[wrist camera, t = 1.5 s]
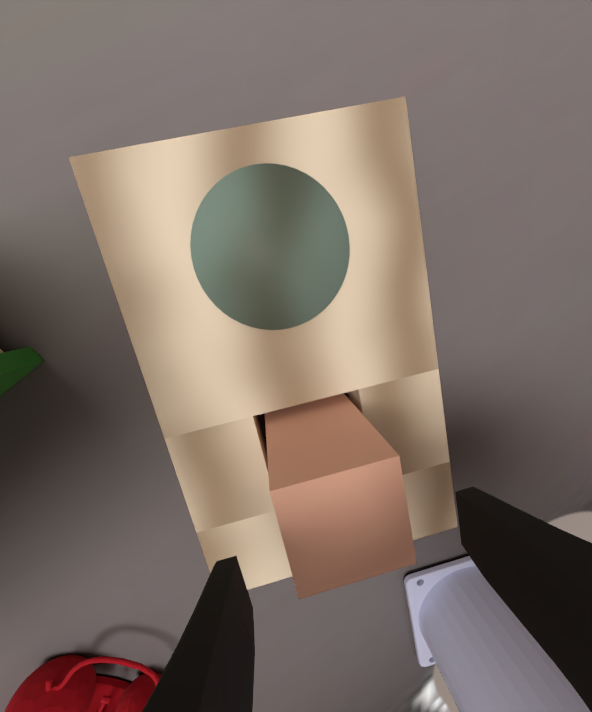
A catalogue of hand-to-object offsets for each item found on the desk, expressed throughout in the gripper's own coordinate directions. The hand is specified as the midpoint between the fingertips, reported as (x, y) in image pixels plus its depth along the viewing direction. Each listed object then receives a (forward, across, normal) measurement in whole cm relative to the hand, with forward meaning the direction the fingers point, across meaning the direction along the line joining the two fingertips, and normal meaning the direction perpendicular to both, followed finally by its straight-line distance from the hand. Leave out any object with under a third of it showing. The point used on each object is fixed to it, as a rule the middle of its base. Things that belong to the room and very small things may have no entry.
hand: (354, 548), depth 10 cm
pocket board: (+9, 0, -4) cm, 10 cm away
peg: (+9, 0, 0) cm, 9 cm away
